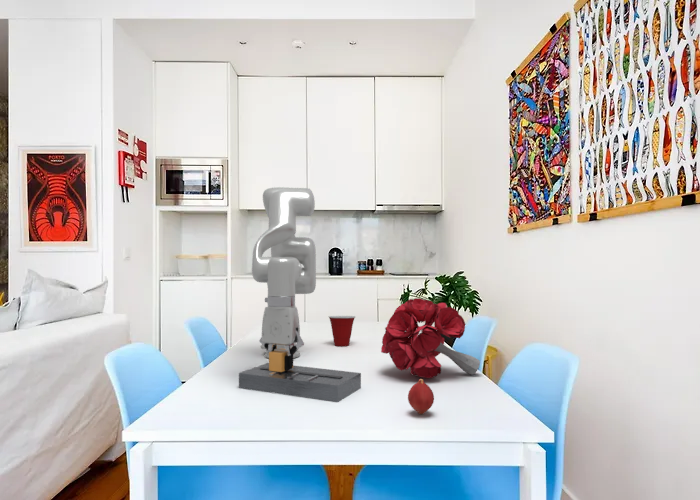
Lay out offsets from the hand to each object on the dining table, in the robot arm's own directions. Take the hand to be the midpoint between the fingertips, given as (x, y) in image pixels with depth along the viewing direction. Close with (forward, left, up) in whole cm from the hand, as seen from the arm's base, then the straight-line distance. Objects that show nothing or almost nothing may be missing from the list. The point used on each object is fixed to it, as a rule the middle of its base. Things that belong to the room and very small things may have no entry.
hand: (281, 367), depth 133 cm
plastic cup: (-11, +61, -5) cm, 62 cm away
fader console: (+6, 0, -5) cm, 8 cm away
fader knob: (0, 0, 0) cm, 0 cm away
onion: (+42, -7, -5) cm, 43 cm away
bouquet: (+34, +28, -5) cm, 45 cm away
